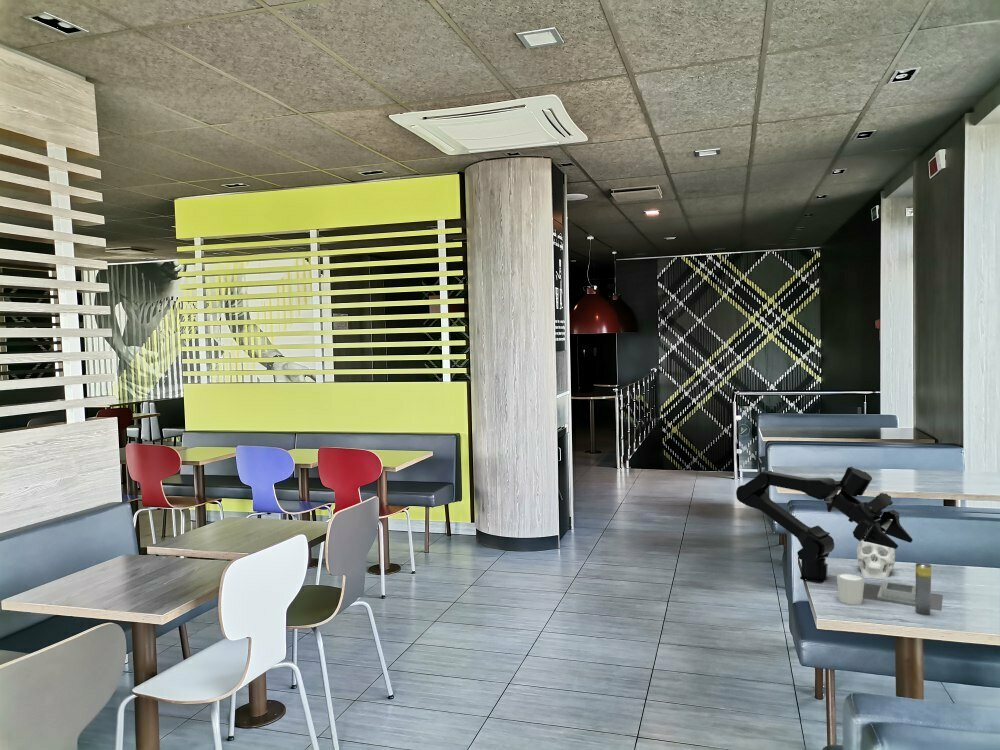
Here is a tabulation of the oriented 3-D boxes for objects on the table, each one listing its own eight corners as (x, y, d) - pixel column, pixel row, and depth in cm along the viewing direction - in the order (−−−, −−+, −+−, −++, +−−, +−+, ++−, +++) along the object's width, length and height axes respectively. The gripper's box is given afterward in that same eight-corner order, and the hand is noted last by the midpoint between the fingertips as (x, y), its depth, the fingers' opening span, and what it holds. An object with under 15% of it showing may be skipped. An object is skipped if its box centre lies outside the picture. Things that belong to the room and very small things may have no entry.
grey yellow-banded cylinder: (914, 614, 187) (915, 565, 187) (915, 610, 190) (916, 561, 190) (930, 617, 186) (931, 567, 185) (930, 613, 188) (931, 563, 188)
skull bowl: (853, 574, 217) (855, 534, 222) (856, 587, 227) (858, 549, 232) (893, 579, 211) (894, 538, 217) (895, 592, 222) (896, 553, 227)
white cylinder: (837, 605, 195) (837, 579, 195) (835, 596, 202) (835, 571, 201) (866, 608, 193) (866, 581, 192) (862, 599, 199) (863, 574, 199)
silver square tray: (877, 599, 198) (877, 589, 198) (880, 588, 206) (880, 579, 206) (919, 605, 193) (919, 596, 193) (921, 594, 201) (921, 585, 201)
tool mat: (848, 597, 201) (848, 595, 201) (854, 583, 213) (854, 581, 213) (941, 612, 189) (941, 610, 189) (942, 596, 201) (942, 594, 201)
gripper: (851, 490, 198) (905, 526, 188) (882, 481, 210) (934, 515, 199) (832, 522, 202) (883, 559, 192) (863, 512, 214) (913, 546, 204)
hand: (904, 544), depth 197 cm, fingers open, 9 cm apart
